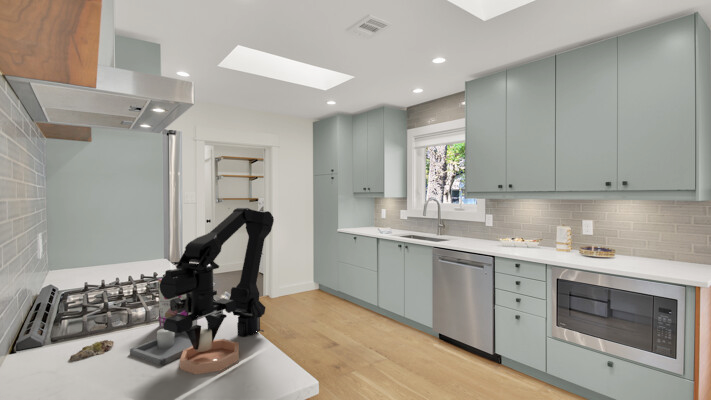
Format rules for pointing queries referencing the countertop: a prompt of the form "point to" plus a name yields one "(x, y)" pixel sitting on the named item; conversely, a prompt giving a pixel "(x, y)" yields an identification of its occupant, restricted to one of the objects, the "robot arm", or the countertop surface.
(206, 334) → the pebble sand
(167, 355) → the tray
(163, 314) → the candy bar box
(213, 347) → the bowl
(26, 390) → the countertop surface
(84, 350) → the mineral rock
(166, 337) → the pebble grey
